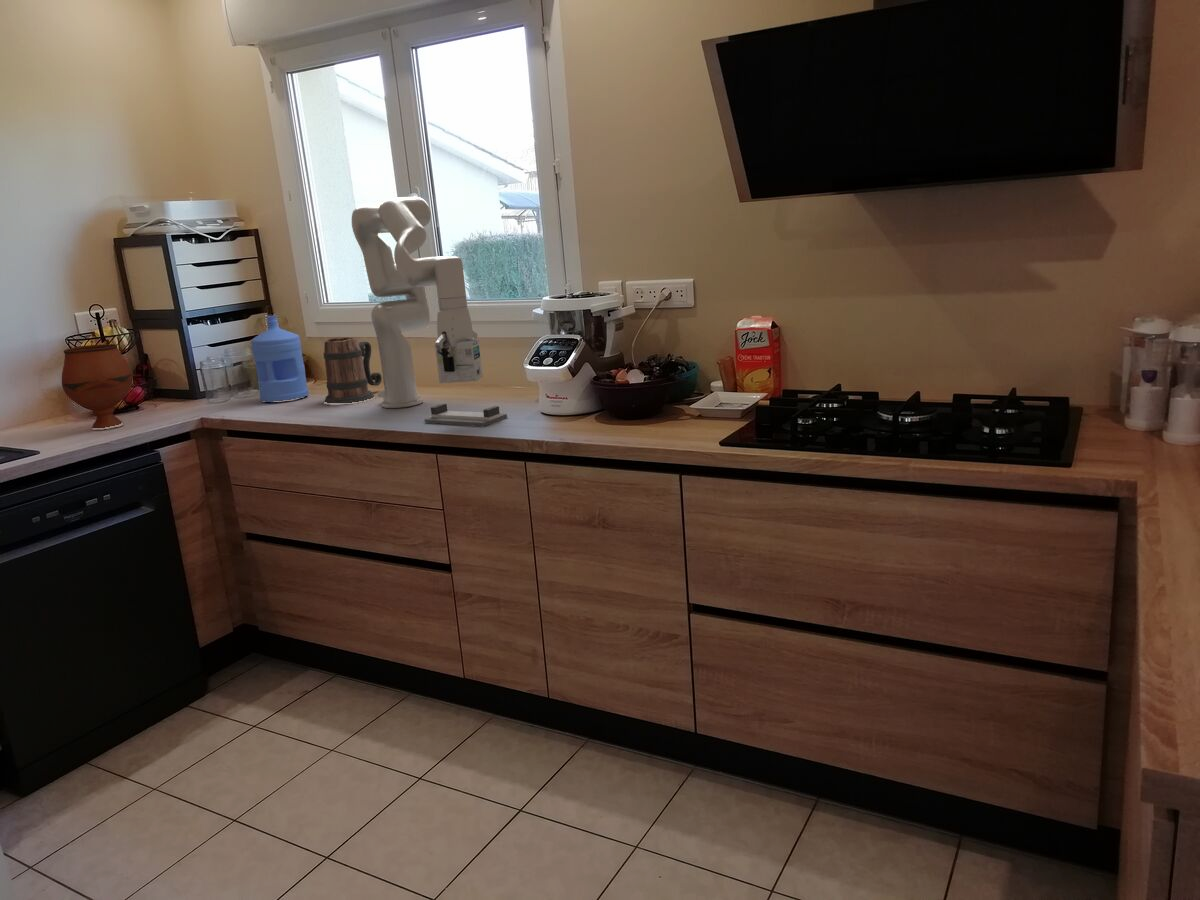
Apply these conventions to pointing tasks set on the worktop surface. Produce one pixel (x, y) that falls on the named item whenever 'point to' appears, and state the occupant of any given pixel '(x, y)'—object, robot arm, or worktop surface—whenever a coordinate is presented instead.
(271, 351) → the water jug
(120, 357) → the goblet
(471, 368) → the light bulb box
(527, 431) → the worktop surface
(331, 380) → the tankard
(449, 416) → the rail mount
